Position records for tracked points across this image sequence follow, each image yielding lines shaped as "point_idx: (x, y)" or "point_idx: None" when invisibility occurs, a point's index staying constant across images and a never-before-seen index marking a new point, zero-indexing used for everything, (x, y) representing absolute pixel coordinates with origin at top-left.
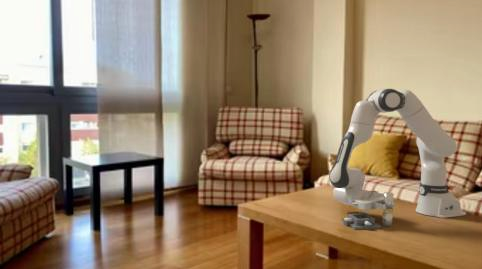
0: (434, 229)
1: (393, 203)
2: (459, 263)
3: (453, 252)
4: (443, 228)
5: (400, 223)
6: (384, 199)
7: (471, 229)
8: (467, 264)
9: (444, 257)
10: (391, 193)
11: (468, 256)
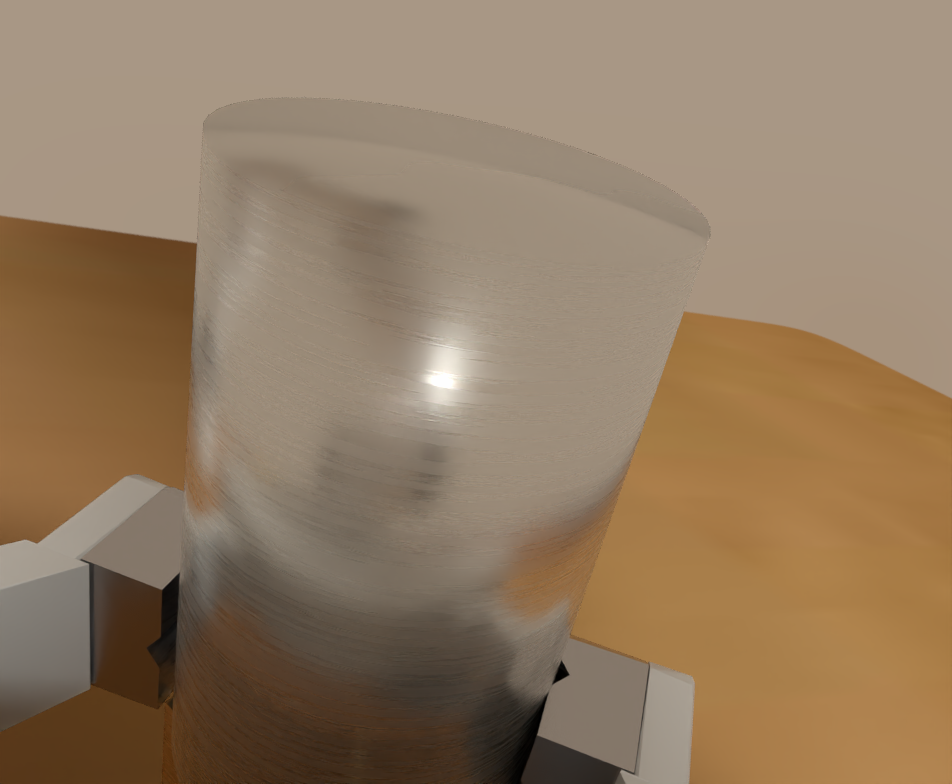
0: (178, 412)
1: (162, 487)
2: (896, 376)
3: (745, 376)
4: (87, 356)
5: (5, 780)
6: (601, 535)
7: (26, 237)
8: (864, 355)
9: (897, 417)
10: (395, 123)
11: (732, 336)
